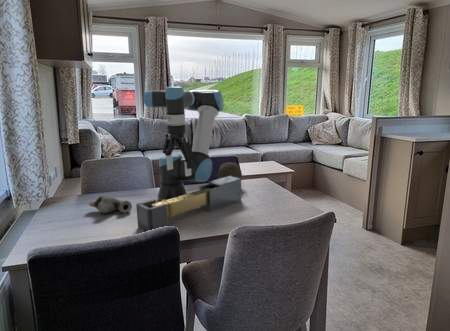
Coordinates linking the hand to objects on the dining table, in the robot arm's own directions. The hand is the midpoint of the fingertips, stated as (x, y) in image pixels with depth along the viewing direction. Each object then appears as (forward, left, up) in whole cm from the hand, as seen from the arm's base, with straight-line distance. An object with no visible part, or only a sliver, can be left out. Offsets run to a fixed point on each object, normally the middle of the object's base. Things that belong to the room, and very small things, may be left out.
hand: (178, 172), depth 143 cm
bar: (+1, +1, -18) cm, 18 cm away
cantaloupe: (-14, +45, -21) cm, 52 cm away
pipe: (-28, -20, -21) cm, 41 cm away
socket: (+1, -16, -21) cm, 26 cm away
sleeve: (+1, +23, -21) cm, 31 cm away
